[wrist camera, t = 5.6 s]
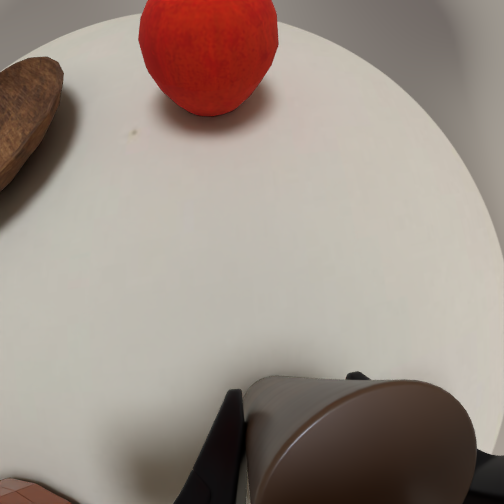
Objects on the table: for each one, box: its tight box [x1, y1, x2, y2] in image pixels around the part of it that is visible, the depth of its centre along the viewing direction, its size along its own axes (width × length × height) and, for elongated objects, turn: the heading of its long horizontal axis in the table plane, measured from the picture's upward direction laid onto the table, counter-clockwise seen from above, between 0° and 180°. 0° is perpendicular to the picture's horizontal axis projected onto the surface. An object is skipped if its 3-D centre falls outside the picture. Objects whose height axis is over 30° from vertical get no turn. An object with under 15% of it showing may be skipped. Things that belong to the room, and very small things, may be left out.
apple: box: [138, 0, 278, 116], centre depth 18 cm, size 10×10×12 cm
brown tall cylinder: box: [243, 376, 477, 504], centre depth 9 cm, size 4×4×13 cm
